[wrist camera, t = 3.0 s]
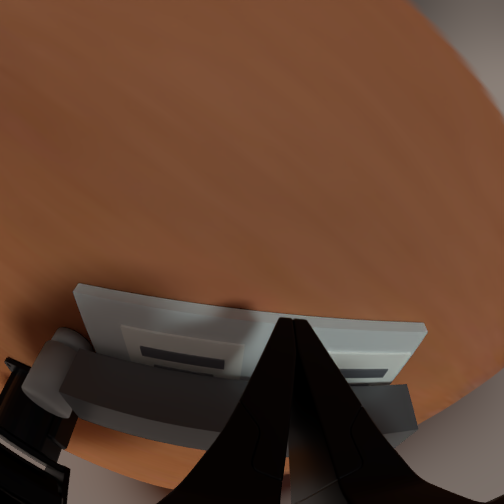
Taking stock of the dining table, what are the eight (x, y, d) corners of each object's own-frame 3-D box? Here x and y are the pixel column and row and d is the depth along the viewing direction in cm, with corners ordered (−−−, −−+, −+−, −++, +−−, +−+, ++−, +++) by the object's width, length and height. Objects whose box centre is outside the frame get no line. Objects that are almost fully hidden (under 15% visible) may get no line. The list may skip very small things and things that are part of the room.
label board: (81, 381, 17) (77, 391, 17) (29, 272, 12) (20, 283, 11) (352, 418, 18) (354, 429, 17) (423, 322, 12) (429, 336, 11)
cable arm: (55, 366, 14) (36, 406, 12) (37, 334, 13) (12, 378, 10) (383, 410, 15) (391, 456, 12) (406, 384, 13) (419, 436, 10)
